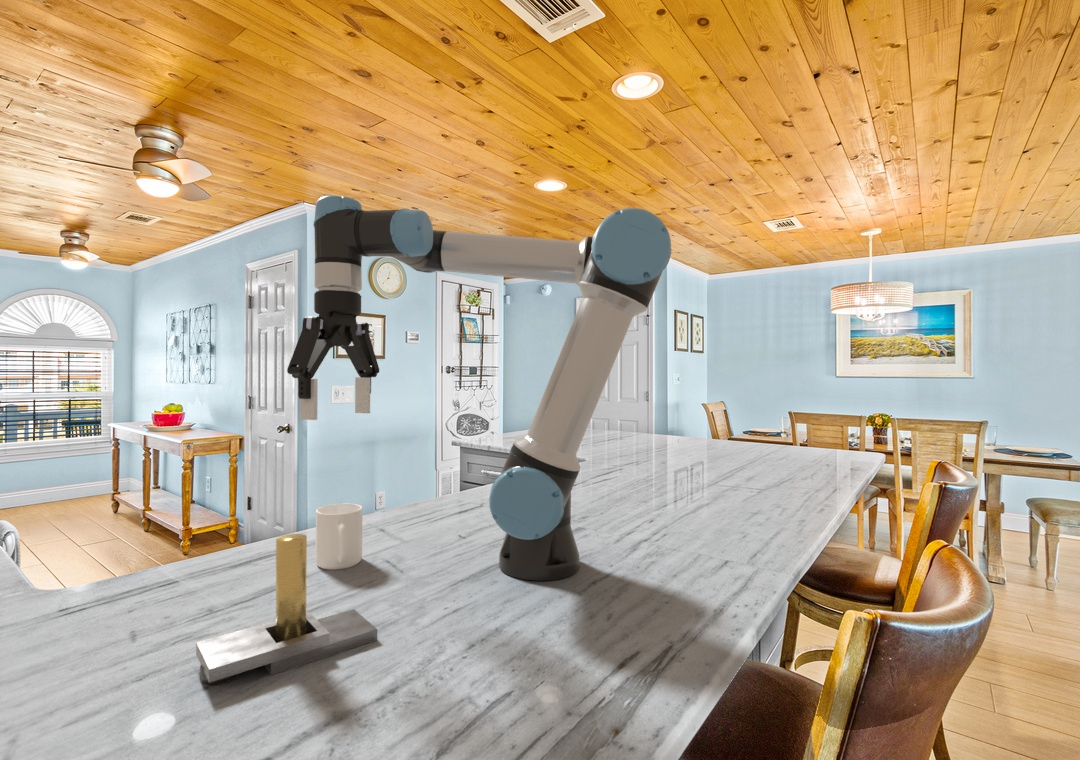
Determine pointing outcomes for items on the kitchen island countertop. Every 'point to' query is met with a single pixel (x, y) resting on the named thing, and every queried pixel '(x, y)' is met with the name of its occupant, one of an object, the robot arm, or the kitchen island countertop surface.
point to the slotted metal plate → (280, 646)
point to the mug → (338, 536)
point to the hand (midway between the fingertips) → (337, 416)
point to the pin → (291, 586)
